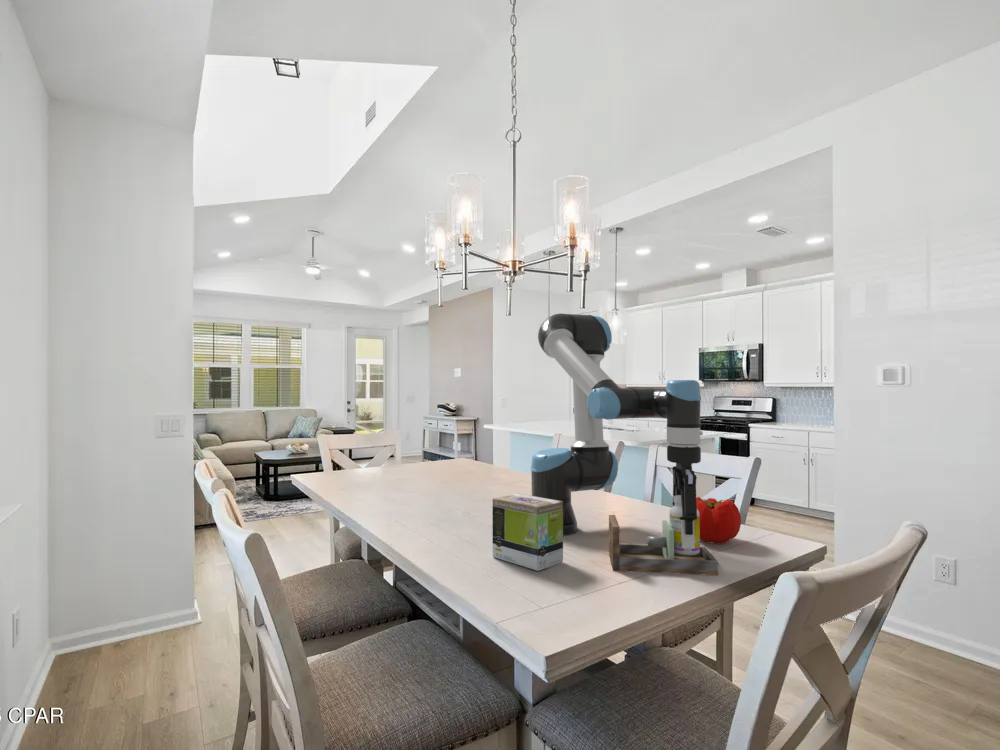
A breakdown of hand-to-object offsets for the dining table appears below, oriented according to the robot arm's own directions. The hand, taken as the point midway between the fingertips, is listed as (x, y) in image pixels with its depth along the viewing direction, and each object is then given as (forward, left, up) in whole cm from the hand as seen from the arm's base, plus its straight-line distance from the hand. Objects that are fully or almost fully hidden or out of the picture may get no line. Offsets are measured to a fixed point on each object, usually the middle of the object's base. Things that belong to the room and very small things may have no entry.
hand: (684, 543), depth 122 cm
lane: (-5, 0, -5) cm, 8 cm away
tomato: (+12, +21, -5) cm, 25 cm away
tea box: (-37, -1, -6) cm, 37 cm away
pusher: (-6, 0, -4) cm, 7 cm away
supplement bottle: (0, 0, -2) cm, 2 cm away
